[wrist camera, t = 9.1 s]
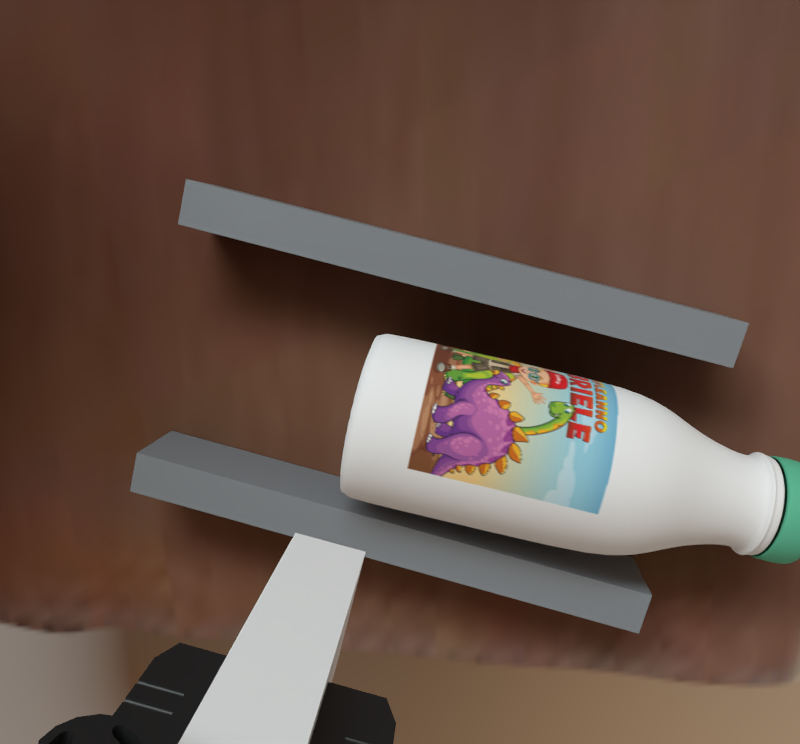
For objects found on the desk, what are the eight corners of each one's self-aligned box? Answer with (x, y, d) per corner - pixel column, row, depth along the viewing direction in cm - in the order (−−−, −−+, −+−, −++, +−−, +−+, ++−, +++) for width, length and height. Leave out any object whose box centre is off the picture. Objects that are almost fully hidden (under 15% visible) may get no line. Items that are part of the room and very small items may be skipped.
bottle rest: (165, 465, 38) (129, 491, 34) (217, 185, 35) (186, 179, 31) (620, 591, 37) (638, 633, 33) (716, 313, 34) (749, 323, 30)
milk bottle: (367, 414, 38) (741, 501, 37) (329, 529, 32) (772, 637, 31) (384, 297, 33) (818, 393, 32) (342, 408, 27) (872, 531, 26)
